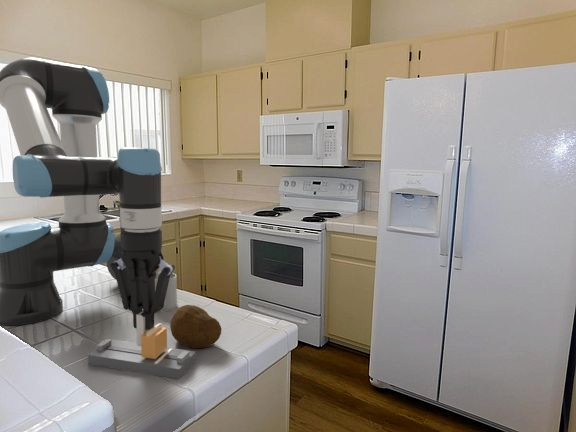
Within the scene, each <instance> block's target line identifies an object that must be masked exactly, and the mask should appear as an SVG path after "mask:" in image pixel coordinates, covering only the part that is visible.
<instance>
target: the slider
mask: <svg viewBox="0 0 576 432" xmlns="http://www.w3.org/2000/svg"><path fill="white" fill-rule="evenodd" d="M167 328H168V327H162V323H161V322H160V323H159V322H158V323H157V324H156V325H154V327H153V328H151V329H150V330H148V331H146V332H145V333H144V334H142V335H141V355H142V357H145V358H152V359H156V358H157V357H158V356H159V355H160V354H161V353H163V352H164V351H165V350H166V349H167V347H168V337H167V336H168V333H167V332H168V331H167V330H168V329H167Z"/></svg>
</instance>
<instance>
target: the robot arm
mask: <svg viewBox="0 0 576 432" xmlns="http://www.w3.org/2000/svg"><path fill="white" fill-rule="evenodd" d="M109 104H110V93H109V87H108V84H107V81H106V78H105V76H104V75H103V74H102V72H101V71H99V70H98V69H96V68H92V67H88V66H84V65H82V64H74V63H68V62H62V61H54V60H49V59H42V58H37V57H26V58H19V59H17V60H14V61H12V62H9V63H8V64H7V65H5V66H4V67H3V68H2V69H1V70H0V106H1V107H3V108H4V109H5V111H6V113H7V117H8V120H9V123H10V127H11V129H12V133H13V136H14V139H15V142H16V145H17V149H18V151H19V152H18V153H19V154H20V155H16V156H15V157H14V158H13V161H12V180H13V186H14V189H15V192H16V193H17V195H19V196H21V197H24V198H25V197H27V198H28V197H32V198H33V197H35V198H36V197H37V198H38V197H39V198H51V197H63V207H64V209H63V210H64V211H63V212H64V214H63V215H62V216H60V218H59V219H58V226H56V227H55V226H54V227H52V225H51V224H50V223H48V222H44V221H43V222H42V221H41V222H31V223H29V222H28V223H24V224H19V225H15V226H11V227H8V228H4V229H3V230H0V324H1V325H2V326H22V325H24V326H25V325H29V324H33V323H34V324H35V323H38V322H42V321H46V320H49V319H51V318H53V317H55V316H57V315H59V314H60V313H61V312H62V311H63V309H64V307H63V304H64V303H63V298H62V297H61V296H60V294H59V291H58V289H57V286H56V284H55V281H54V272H59V271H65V270H71V269H78V268H79V269H80V268H85V267H94V266H97V265H98V266H99V265H103V264H105V263H106V264H107V261H108V260H109V259H110V257H111V256H112V253H113V250H114V243H115V237H116V236H115V233H114V231H115V230H114V226H113V225H112V224H111V223H109V222H107V218H106V216H105V215H103V214H102V213H101V210H100V209H101V208H100V195H104V196H105V195H118V196H119V201H120V214H119V216H120V221H119V222H120V224H119V226H121V227H122V228H123V229H124V230H122V231H121V230H120V234H121V248H122V249H123V252H122V254H121V258H120V259H119V260H117V261H115V262H112V263H111V264H110V266H111V268H112V270H113V271H114V273H115V276H116V280H115V281H116V284H117V287H118V291H119V295H120V298H121V299H120V300H121V303H122V307H123V309H124V310H125V311H126V310H129V311H131V313H132V318H133V319H132V322H133V328H134V329H136V343H137V346H141V335H142V334H144V333H145V332H146V331H148V330H150V329H151V328H153V327H154V326H155V314H157V313H158V312H159V310H161V309H162V308H163V306H164V302H165V297H166V293H167V288H168V284H169V279H170V275H171V274H172V273H174V271H175V268H176V266H175V265H174V264H169V263H167V262H166V261H165V260H164V255H163V253H162V247H163V231H162V229H161V227H162V226H163V220H162V219H163V217H162V215H163V214H162V165H161V154H160V152H159V150H157V149H156V148H149V147H148V148H146V147H120V148H119V150H118V151H117V156H116V157H114V156H111V157H100V156H99V157H98V144H97V143H98V142H97V141H98V140H97V125H98V124H99V123H100V122H101V121H102V119H103V116H102V115H105V114H106V113H108V111H109V108H110V105H109ZM48 109H51V115H50V113H49V110H48ZM51 116H52V117H53V118H54V119H55V120H56V121H57V122H58V124H59V133H58V131H57V130H56V127H55V124H54V121H53V120H52V117H51ZM59 135H60V136H59ZM158 269H159V270H158ZM128 270H129V273H128ZM157 271H158V273H160V275H159V277H158V281H157V285H156V290H155V278H156V273H157Z"/></svg>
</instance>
